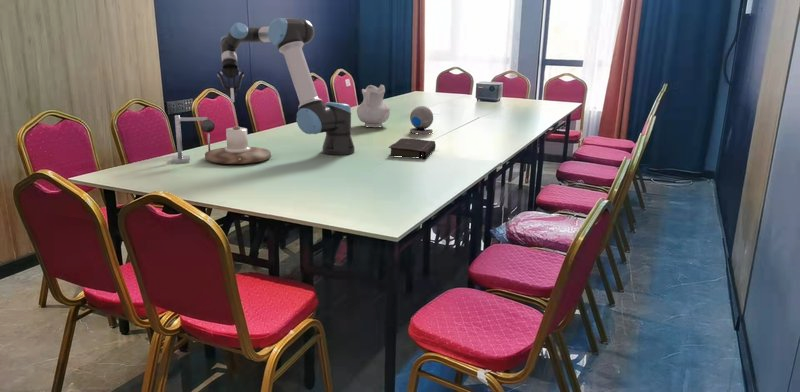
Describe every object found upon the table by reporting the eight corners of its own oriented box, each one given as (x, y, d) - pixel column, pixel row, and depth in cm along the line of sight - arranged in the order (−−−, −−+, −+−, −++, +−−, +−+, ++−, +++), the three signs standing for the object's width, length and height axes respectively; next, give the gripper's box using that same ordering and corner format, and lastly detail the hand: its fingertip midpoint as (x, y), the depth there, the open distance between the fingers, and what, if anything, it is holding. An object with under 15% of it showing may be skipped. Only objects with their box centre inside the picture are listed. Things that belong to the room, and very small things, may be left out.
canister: (249, 147, 273) (248, 124, 270) (251, 152, 263) (250, 128, 260) (224, 148, 270) (223, 125, 267) (225, 153, 260) (223, 129, 257)
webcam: (436, 132, 339) (437, 106, 334) (425, 135, 328) (426, 108, 324) (417, 129, 345) (417, 103, 341) (405, 132, 335) (406, 106, 331)
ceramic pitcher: (387, 132, 341) (391, 88, 334) (353, 128, 341) (357, 84, 334) (388, 126, 362) (392, 84, 355) (356, 122, 362) (360, 81, 355)
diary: (435, 150, 294) (436, 140, 293) (426, 161, 271) (426, 150, 270) (398, 147, 298) (399, 137, 297) (386, 157, 275) (386, 146, 274)
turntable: (267, 148, 280) (267, 145, 279) (274, 162, 254) (273, 158, 254) (205, 151, 271) (204, 147, 271) (205, 165, 246) (204, 161, 245)
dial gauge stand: (216, 157, 264) (213, 113, 258) (216, 161, 257) (214, 116, 252) (172, 159, 258) (168, 114, 253) (171, 163, 252) (167, 117, 246)
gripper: (243, 67, 302) (246, 105, 291) (216, 67, 298) (218, 105, 287) (243, 57, 295) (246, 95, 285) (215, 57, 291) (218, 95, 281)
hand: (232, 100), depth 286 cm, fingers closed
